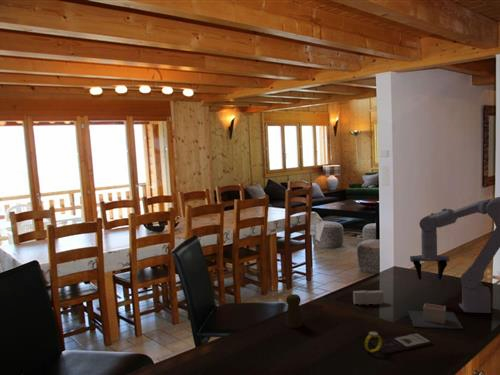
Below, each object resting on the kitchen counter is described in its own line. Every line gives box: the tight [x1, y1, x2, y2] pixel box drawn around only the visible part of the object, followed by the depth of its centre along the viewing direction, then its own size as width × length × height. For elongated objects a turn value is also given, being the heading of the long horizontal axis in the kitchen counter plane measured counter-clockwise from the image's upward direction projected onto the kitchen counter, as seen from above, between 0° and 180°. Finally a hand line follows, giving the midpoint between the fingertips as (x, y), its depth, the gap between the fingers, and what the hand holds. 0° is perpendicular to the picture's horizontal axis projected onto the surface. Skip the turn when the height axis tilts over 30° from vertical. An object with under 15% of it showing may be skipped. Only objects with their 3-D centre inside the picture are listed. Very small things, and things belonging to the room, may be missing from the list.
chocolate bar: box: [368, 331, 434, 356], centre depth 141 cm, size 9×1×18 cm
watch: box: [364, 331, 383, 354], centre depth 137 cm, size 6×3×6 cm, turn 114°
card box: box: [422, 303, 447, 324], centre depth 156 cm, size 4×7×5 cm, turn 58°
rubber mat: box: [407, 310, 464, 330], centre depth 157 cm, size 16×14×1 cm
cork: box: [285, 293, 304, 329], centre depth 160 cm, size 6×6×11 cm
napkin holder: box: [352, 289, 385, 306], centre depth 177 cm, size 15×11×6 cm
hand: (429, 278), depth 174 cm, fingers open, 7 cm apart
